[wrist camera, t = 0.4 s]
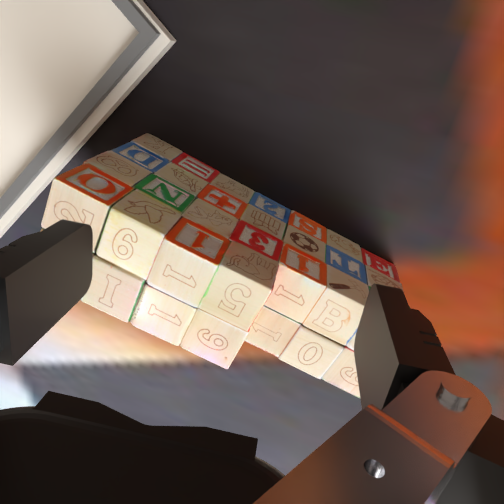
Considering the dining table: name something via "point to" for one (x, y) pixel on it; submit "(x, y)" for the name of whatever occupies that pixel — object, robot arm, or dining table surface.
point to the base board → (64, 83)
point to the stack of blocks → (216, 261)
